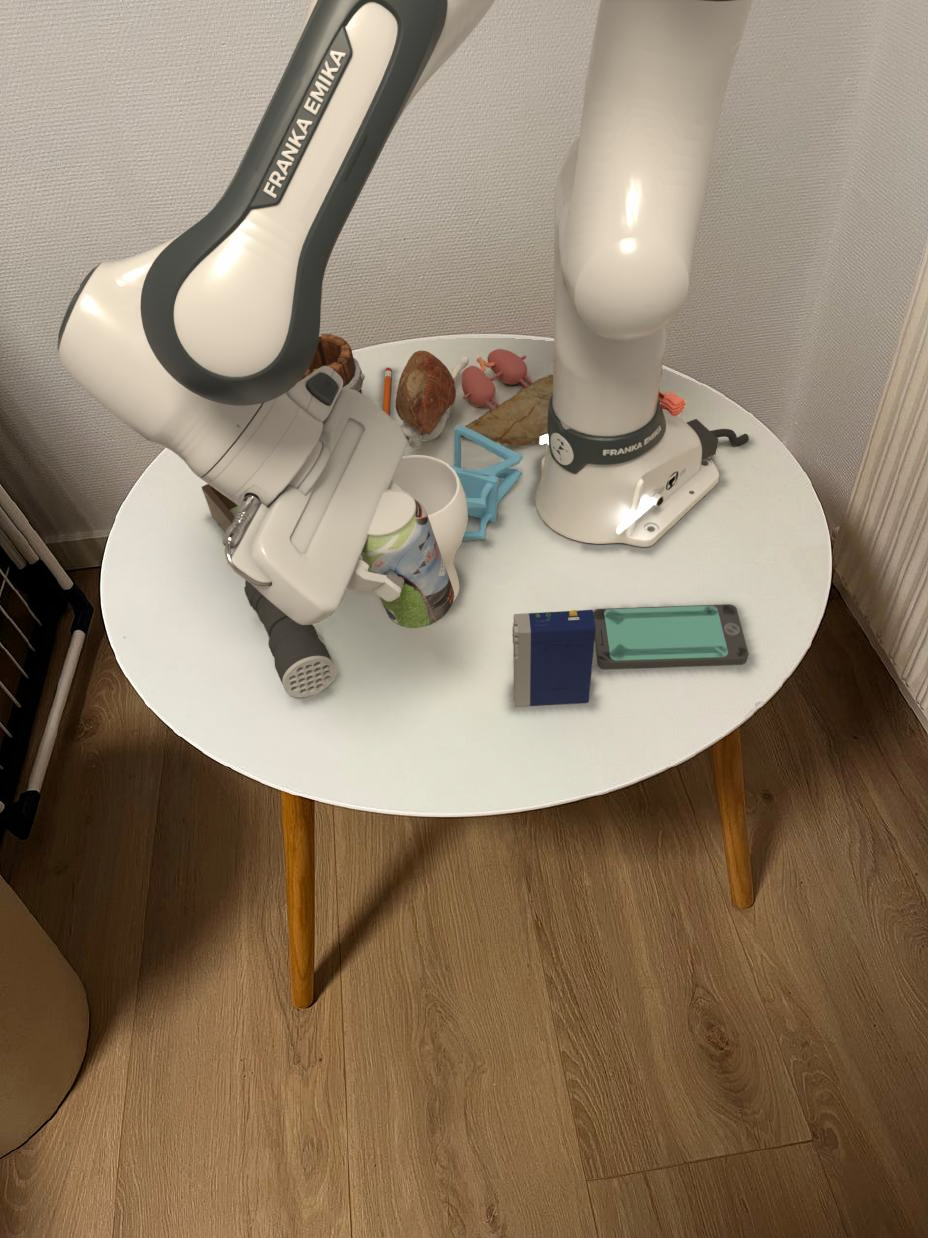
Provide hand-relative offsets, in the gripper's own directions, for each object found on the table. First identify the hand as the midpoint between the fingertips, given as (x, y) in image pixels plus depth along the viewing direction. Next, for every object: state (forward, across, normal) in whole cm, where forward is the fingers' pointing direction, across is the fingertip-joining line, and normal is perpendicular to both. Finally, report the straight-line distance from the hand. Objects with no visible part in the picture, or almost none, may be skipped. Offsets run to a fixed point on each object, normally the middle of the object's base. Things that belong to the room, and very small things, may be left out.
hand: (409, 562), depth 72 cm
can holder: (-3, +22, +34) cm, 40 cm away
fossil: (+17, +45, +7) cm, 48 cm away
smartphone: (+31, +14, 0) cm, 34 cm away
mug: (-1, +38, +32) cm, 50 cm away
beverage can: (+4, 0, +5) cm, 7 cm away
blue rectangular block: (+23, +4, +8) cm, 25 cm away
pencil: (+2, +44, +28) cm, 52 cm away
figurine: (+7, +44, +24) cm, 51 cm away
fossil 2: (-2, +44, +19) cm, 48 cm away
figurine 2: (+14, +50, +17) cm, 54 cm away
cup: (+12, +15, +19) cm, 27 cm away
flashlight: (+4, +5, +27) cm, 28 cm away
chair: (+12, +34, +14) cm, 39 cm away
